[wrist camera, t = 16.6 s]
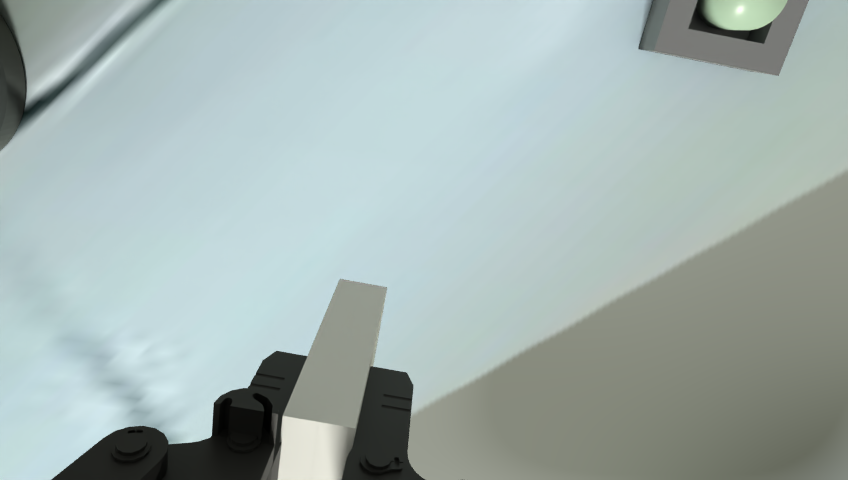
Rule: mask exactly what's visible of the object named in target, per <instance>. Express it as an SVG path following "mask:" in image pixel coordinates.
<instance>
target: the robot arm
mask: <svg viewBox="0 0 848 480" xmlns="http://www.w3.org/2000/svg"><path fill="white" fill-rule="evenodd" d="M25 91H26V90H25V76H24V70H23V65H22V61H21V57H20V54H19V51H18V48H17V46H16V43H15V41H14V38H13V36H12V34H11V32H10V30H9V28H8V26H7V24H6V23H5V21H4V19H3V18H2V16H1V15H0V150H2V149H3V148H4V147H5V146H6V145H7V144H8V142H9V141H10V140H11V139H12V137H13V135H14V134H15V132H16V130H17V128H18V126H19V124H20V121H21V118H22V115H23V110H24V105H25ZM386 291H387V287H382V286H377V285H371V284H366V283H360V282H355V281H349V280H344V279H340V280H339V282H338V285H337V287H336V290H335V292H334V294H333V297H332V299H331V301H330V304H329V306H328V309H327V311H326V313H325V316H324V318H323V321H322V323H321V325H320V328H319V330H318V333H317V335H316V337H315V340H314V342H313V345H312V347H311V349H310V352H309V354H308V356H302V355H297V354H291V353H286V352H280V351H276V352H274V353H273V354H272V355H270V356H269V357H267V358H266V359H264V360H263V361H262V363H261V365H260V367H259V369H258V371H257V372H256V375H255V376H254V378H253V380H252V382H251V384H250V386H249V387H248V388H243V389H237V390H232V391H230V392H228V393H226V394H224V395H221V396H220V397H219V398H218V399H217V400H216V401H215V402H214V410H213V428H212V436H211V438H209V439H205V440H202V441H199V442H192V443H182V444H168V440H167V438H166V436H165V435H164V433H162V432H160V431H159V430H157V429H156V428H151V427H146V426H135V427H127V428H124V429H121V430H117V431H115V432H113V433H111V434H110V435H108V436H106V437H105V438H103V439H102V440H101V441H99V442H98V443H97V444H96V445H94V446H93V447H92V448H90V449H89V450H88V451H87V452H85V453H84V454H83V455H82V456H80V457H79V458H78V459H77V460H75V461H74V462H73V463H72V464H70V465H69V466H68V467H67V468H65V469H64V470H63V471H62V472H60V473H59V474H58V475H57V476H55V477H54V478H53V479H52V480H425V479H423V478H422V477H421V476H419V475H418V474H417V473H416V472H415V471H414V469H413V468H412V467H411V465H410V463H409V460H408V454H407V449H408V439H409V427H410V417H411V406H412V395H413V384H412V382H411V380H410V378H409V376H408V374H407V373H406V372H400V371H394V370H389V369H383V368H377V367H373V363H374V358H375V353H376V347H377V341H378V336H379V330H380V325H381V319H382V313H383V308H384V302H385V296H386Z"/></svg>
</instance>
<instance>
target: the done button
mask: <svg viewBox="0 0 848 480" xmlns="http://www.w3.org/2000/svg"><path fill="white" fill-rule="evenodd" d="M787 1H788V0H698V1H697V4H696V6H697V11H698V14H699V16H700V17H701V19H702V20H703V22H704V23H706V24H707V25H708V26H710V27H712V28H715V29H719V30H754V29H758V28H761V27H763V26H765V25H767V24H769V23H770V22H771V21H773V20H774V19H775V18H776V17H777V16H778V15H779V14H780V13H781V11H782V10H783V8H784V7H785V5H786V3H787Z"/></svg>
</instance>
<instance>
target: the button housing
mask: <svg viewBox="0 0 848 480" xmlns="http://www.w3.org/2000/svg"><path fill="white" fill-rule="evenodd" d="M697 1H698V0H653V4H652V7H651V10H650V13H649V17H648V20H647V23H646V26H645V30H644V33H643V36H642V39H641V43H640V46H639V49H641V50H646V51H651V52H656V53H661V54H666V55H671V56H676V57H681V58H687V59H692V60H697V61H702V62H707V63H712V64H717V65H722V66H727V67H732V68H737V69H742V70H747V71H752V72H758V73H764V74H771V75H778V76H779V73H780V71H781V68H782V66H783V63H784V61H785V58H786V56H787V53H788V51H789V48H790V46H791V43H792V41H793V38H794V36H795V33H796V31H797V28H798V26H799V23H800V21H801V18H802V16H803V13H804V11H805V8H806V6H807V3H808V1H809V0H788V1H787V3H786V5H785V7H784V8H783V10H782V11H781V13H780V14H779V15H778V16H777V17H776V18H775V19H774V20H773V21H771V22H770V23H769V24H767V25H765V26H763V27H761V28H758V29H754V30H719V29H715V28H712V27H710V26H708V25H707V24H706V23H704V22H703V20H702V19H701V17H700V16H699V14H698V11H697V6H696V4H697Z"/></svg>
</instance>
